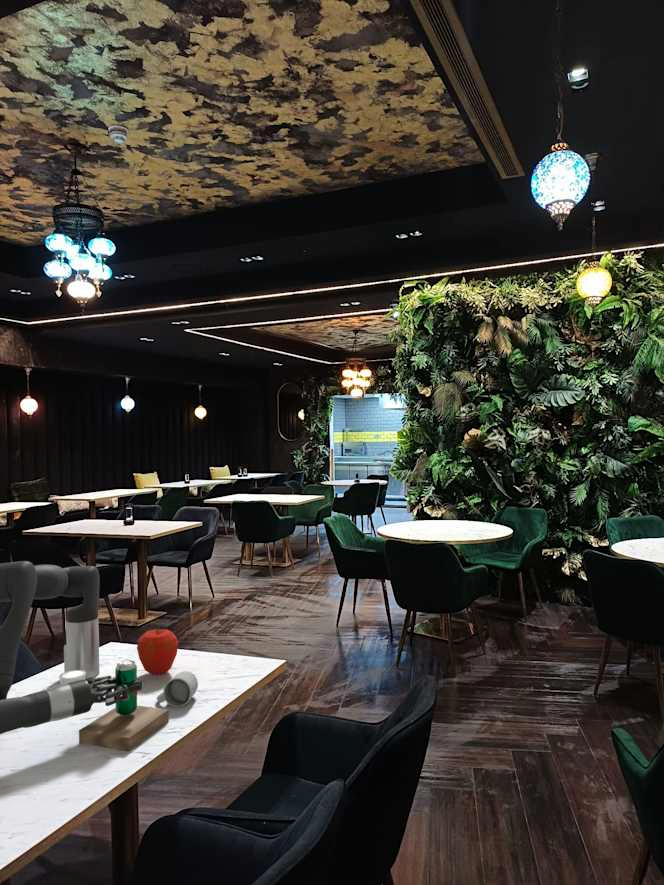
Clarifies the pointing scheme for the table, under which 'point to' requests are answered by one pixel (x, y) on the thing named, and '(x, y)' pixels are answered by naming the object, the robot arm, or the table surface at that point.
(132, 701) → the soda can
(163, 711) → the walnut plate
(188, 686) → the ceramic mug
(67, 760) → the table surface
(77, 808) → the table surface
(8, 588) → the robot arm
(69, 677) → the white cup
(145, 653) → the apple
